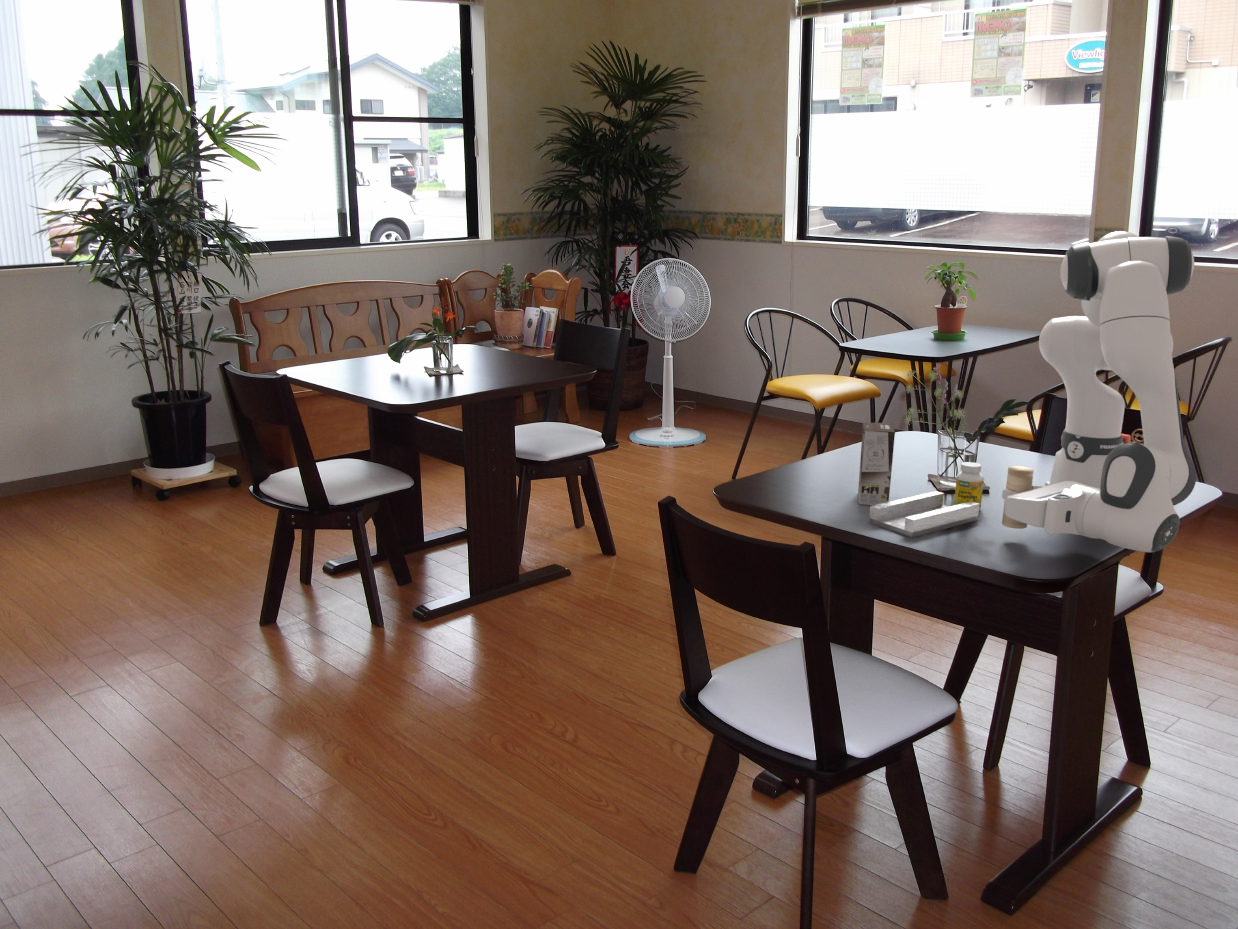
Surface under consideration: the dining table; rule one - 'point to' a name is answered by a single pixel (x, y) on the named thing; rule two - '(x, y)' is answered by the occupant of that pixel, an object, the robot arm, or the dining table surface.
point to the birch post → (1017, 490)
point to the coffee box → (876, 463)
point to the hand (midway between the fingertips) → (1014, 490)
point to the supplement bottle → (969, 484)
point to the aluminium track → (922, 514)
